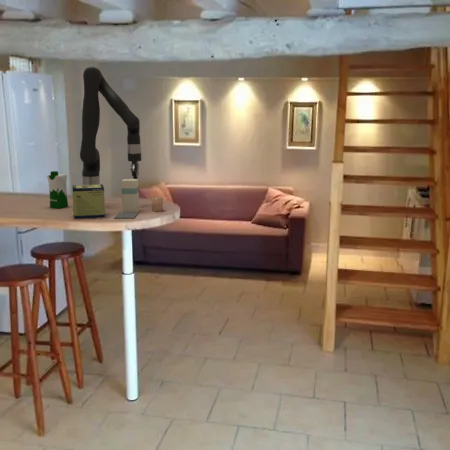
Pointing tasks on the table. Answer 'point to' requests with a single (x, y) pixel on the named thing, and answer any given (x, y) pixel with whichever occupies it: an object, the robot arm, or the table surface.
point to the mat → (126, 215)
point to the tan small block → (157, 204)
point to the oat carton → (130, 195)
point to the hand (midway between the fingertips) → (135, 183)
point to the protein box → (88, 201)
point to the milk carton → (57, 190)
